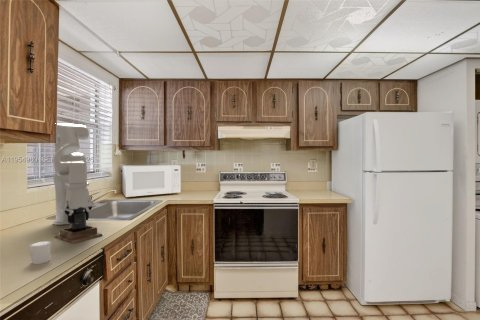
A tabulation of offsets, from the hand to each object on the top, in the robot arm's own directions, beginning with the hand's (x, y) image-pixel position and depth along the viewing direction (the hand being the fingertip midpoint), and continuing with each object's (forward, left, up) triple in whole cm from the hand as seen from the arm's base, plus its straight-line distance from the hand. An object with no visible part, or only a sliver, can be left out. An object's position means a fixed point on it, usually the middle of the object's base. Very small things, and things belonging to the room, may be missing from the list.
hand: (78, 221), depth 135 cm
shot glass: (+20, -24, -8) cm, 32 cm away
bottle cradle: (0, 0, -8) cm, 8 cm away
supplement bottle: (0, 0, -5) cm, 5 cm away
